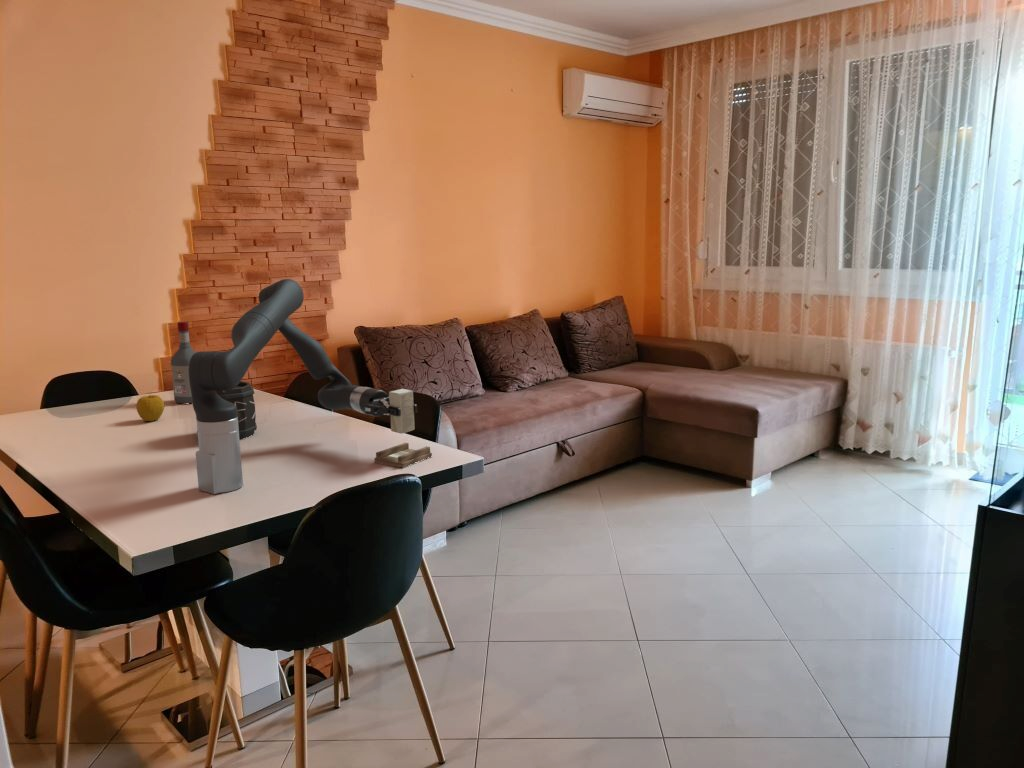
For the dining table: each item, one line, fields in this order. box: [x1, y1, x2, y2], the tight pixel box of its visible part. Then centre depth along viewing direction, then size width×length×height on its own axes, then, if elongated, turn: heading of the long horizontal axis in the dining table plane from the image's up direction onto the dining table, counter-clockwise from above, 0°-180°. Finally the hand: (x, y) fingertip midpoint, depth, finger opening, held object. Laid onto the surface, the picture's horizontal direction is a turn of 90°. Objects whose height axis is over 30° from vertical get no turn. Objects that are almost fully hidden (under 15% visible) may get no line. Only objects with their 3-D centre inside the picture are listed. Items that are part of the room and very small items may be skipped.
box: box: [388, 388, 416, 435], centre depth 201 cm, size 5×4×11 cm
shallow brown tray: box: [374, 442, 433, 468], centre depth 203 cm, size 12×10×3 cm
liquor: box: [170, 321, 197, 404], centre depth 278 cm, size 9×9×30 cm
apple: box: [135, 394, 165, 422], centre depth 249 cm, size 8×8×9 cm
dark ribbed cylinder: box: [196, 380, 258, 440], centre depth 229 cm, size 18×18×16 cm
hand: (408, 410), depth 199 cm, fingers closed on box, 5 cm apart
